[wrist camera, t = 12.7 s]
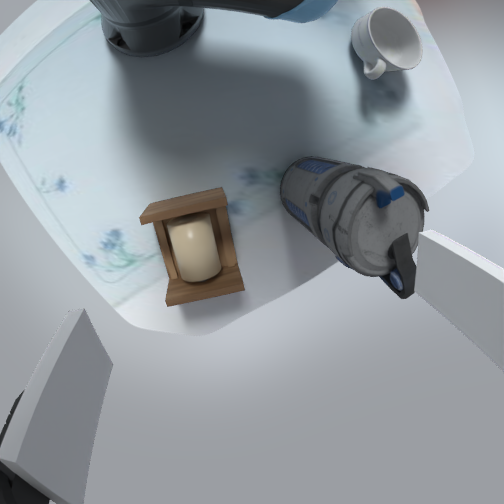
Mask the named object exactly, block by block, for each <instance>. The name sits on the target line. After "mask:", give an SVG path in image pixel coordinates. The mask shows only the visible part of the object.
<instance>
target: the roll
mask: <svg viewBox="0 0 504 504" xmlns="http://www.w3.org/2000/svg"><path fill="white" fill-rule="evenodd" d="M167 228H168V231H169V235H170V239H171V242H172V246H173V250H174V253H175V257H176V260H177V264H178V267H179V271H180V274H181V278H182V279H183V280H185V281H189V282H196V281H202V280H206V279H209V278H211V277H213V276H215V275H216V274H218V273H219V272H220V270H221V264H220V260H219V255H218V251H217V247H216V242H215V238H214V233H213V229H212V224H211V219H210V215H209V213H207V212H196V213H190V214H186V215H183V216H180V217H177V218H175V219H173V220H171V221H169V222H168V223H167Z"/></svg>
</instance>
